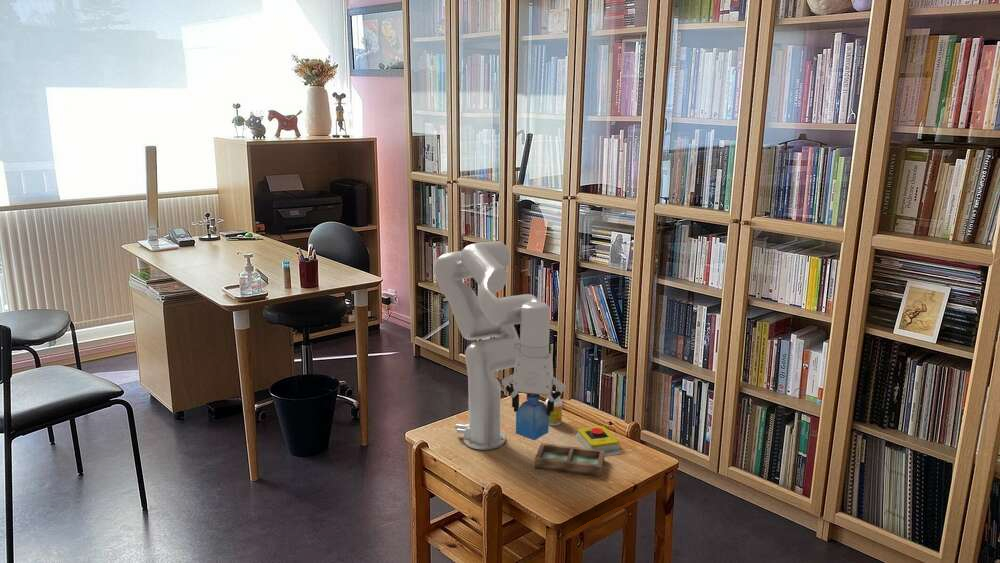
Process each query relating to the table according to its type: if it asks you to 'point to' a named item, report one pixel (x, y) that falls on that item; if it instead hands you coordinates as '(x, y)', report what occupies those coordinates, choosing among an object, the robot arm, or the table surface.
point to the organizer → (569, 459)
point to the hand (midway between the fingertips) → (532, 411)
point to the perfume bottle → (532, 418)
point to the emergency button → (599, 439)
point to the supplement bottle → (555, 412)
